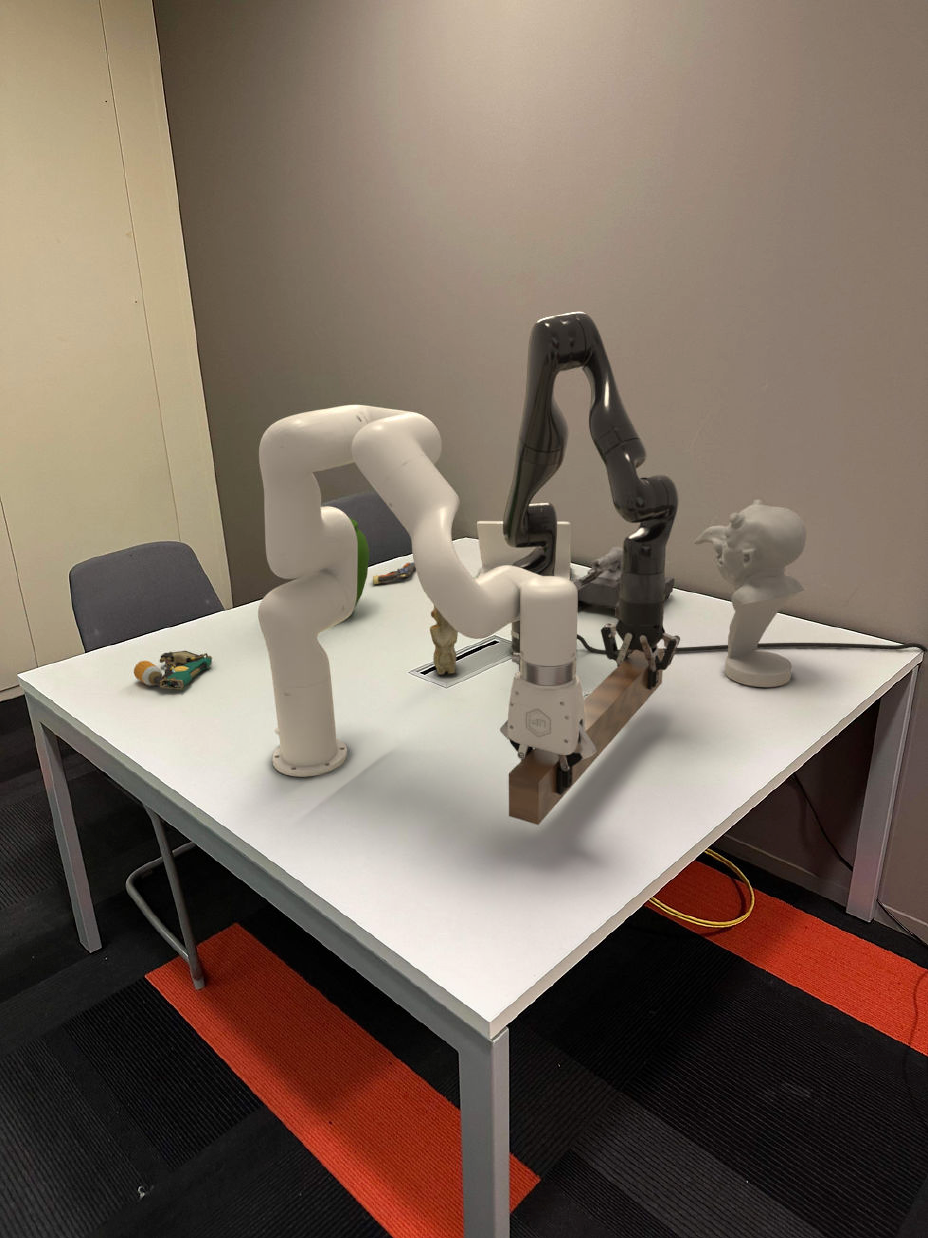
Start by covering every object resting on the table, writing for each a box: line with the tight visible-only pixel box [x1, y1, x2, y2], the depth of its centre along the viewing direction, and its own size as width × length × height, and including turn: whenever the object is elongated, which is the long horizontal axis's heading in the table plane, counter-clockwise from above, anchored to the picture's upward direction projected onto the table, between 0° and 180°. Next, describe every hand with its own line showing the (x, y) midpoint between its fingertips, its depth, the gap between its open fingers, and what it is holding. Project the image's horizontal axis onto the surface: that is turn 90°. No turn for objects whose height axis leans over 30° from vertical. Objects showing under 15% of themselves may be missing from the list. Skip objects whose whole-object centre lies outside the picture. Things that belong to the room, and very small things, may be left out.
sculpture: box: [429, 604, 459, 675], centre depth 177 cm, size 6×7×15 cm
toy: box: [572, 546, 676, 621], centre depth 212 cm, size 25×20×15 cm
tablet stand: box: [476, 520, 572, 581], centre depth 236 cm, size 18×25×17 cm
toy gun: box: [372, 561, 416, 585], centre depth 242 cm, size 3×19×10 cm
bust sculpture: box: [693, 499, 807, 688], centre depth 171 cm, size 16×24×35 cm, turn 28°
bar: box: [508, 647, 665, 826], centre depth 136 cm, size 51×4×7 cm, turn 149°
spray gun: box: [133, 650, 213, 690], centre depth 180 cm, size 4×17×15 cm
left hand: (546, 783), depth 121 cm, fingers closed on bar, 4 cm apart
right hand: (637, 684), depth 151 cm, fingers closed on bar, 4 cm apart
